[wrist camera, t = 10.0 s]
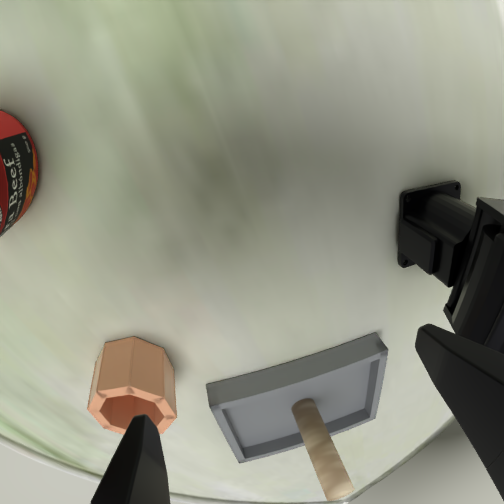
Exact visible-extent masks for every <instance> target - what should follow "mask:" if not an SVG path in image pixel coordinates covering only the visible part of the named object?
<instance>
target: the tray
mask: <svg viewBox="0 0 504 504" xmlns="http://www.w3.org/2000/svg"><path fill="white" fill-rule="evenodd" d="M387 355H388V348H387V347H386V346H385V344H384V343H383V342H382V340H381V339H380V338H379V336H378V335H377V334H376V333H372V334H370V335H367V336H364V337H362V338H359V339H356V340H354V341H351V342H348V343H345V344H343V345H340V346H337V347H334V348H331V349H328V350H325V351H322V352H319V353H316V354H313V355H310V356H307V357H304V358H301V359H298V360H294V361H291V362H288V363H285V364H281V365H278V366H275V367H271V368H268V369H264V370H261V371H257V372H253V373H250V374H246V375H242V376H238V377H235V378H231V379H227V380H223V381H219V382H214V383H210V384H206V389H207V395H208V401H209V407H210V409H211V411H212V413H213V415H214V417H215V419H216V421H217V423H218V425H219V427H220V429H221V430H222V432H223V434H224V436H225V438H226V440H227V442H228V444H229V446H230V448H231V449H232V451H233V453H234V455H235V457H236V459H237V460H238V462H239V463H243V462H247V461H252V460H256V459H259V458H263V457H267V456H271V455H274V454H278V453H281V452H285V451H288V450H291V449H295V448H298V447H301V446H304V445H305V444H304V441H303V439H302V436H301V433H300V431H299V428H298V426H297V423H296V421H295V418H294V416H293V413H292V410H291V408H292V406H293V405H294V404H295V403H296V402H297V401H299V400H302V399H306V398H310V399H313V400H314V402H315V404H316V406H317V408H318V411H319V413H320V415H321V417H322V419H323V422H324V424H325V426H326V428H327V430H328V432H329V435H330V436H333V435H336V434H338V433H341V432H344V431H346V430H349V429H351V428H354V427H356V426H359V425H361V424H364V423H366V422H368V421H371V420H373V419H375V418H376V413H377V409H378V404H379V399H380V394H381V389H382V384H383V378H384V373H385V367H386V361H387Z"/></svg>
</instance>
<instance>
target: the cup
mask: <svg viewBox="0 0 504 504" xmlns="http://www.w3.org/2000/svg"><path fill="white" fill-rule="evenodd" d="M87 409H88V411H89V412H90V413H91V414H92V415H93V416H94V418H95V419H96V420H97V421H98V422H99V423H100V424H101V426H102V427H103V428H104V429H108V430H111V431H114V432H117V433H120V434H125V432H126V430H127V428H128V426H129V424H130V422H131V420H132V418H133V417H134V416H135V415H140V414H147V415H148V416H149V418H150V419H151V420H152V421H153V423H154V424H155V425H156V427H157V428H158V431H159V434H163V433H164V431H165V430H166V429H167V428H168V427H169V426H170V425H171V423H172V422H173V421H174V420H175V419H176V418H177V410H176V396H175V379H174V369H173V367H172V365H171V363H170V361H169V359H168V357H167V355H166V353H165V351H164V348H161V347H159V346H156V345H154V344H151V343H149V342H146V341H144V340H141V339H139V338H136V337H135V336H133V337H130V338H125V339H121V340H116V341H111V342H107V343H105V344H104V347H103V349H102V351H101V353H100V355H99V357H98V359H97V361H96V364H95V368H94V374H93V379H92V384H91V390H90V395H89V401H88V408H87Z"/></svg>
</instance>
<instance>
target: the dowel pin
mask: <svg viewBox="0 0 504 504" xmlns="http://www.w3.org/2000/svg"><path fill="white" fill-rule="evenodd" d="M291 410H292V413H293V416H294V418H295V421H296V423H297V426H298V428H299V431H300V433H301V436H302V439H303V441H304V444H305V446H306V449H307V451H308V454H309V456H310V459H311V461H312V464H313V466H314V469H315V471H316V474H317V476H318V479H319V481H320V484H321V486H322V489H323V491H324V494H325V496H326V499H327V500H328V501H332V500H337V499H340V498H342V497H344V496H346V495H348V494H350V493H351V492H353V491H354V487H353V485H352V482H351V480H350V478H349V476H348V474H347V472H346V469H345V467H344V465H343V463H342V461H341V459H340V456H339V454H338V452H337V450H336V448H335V446H334V443H333V441H332V439H331V437H330V435H329V432H328V430H327V428H326V426H325V424H324V422H323V419H322V417H321V415H320V413H319V411H318V408H317V406H316V404H315V402H314V400H313V399H310V398H306V399H302V400H299V401H297V402H296V403H295V404H294V405H293V406H292V408H291Z"/></svg>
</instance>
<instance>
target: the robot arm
mask: <svg viewBox="0 0 504 504" xmlns="http://www.w3.org/2000/svg"><path fill="white" fill-rule="evenodd" d="M455 186H456V187H455ZM460 190H461V185H460V183H459V182H457V181H449V182H444V183H440V184H435V185H430V186H426V187H421V188H417V189H412V190H407V191H404V192H403V193H402V194H401V196H400V225H399V256H398V264H399V265H400V266H401V267H402V268H406V267H409V266H412V265H414V264H417V265H418V266H419V267H420V268H421V269H423V270H424V271H425V272H426V273H427V274H429V275H432V274H433V275H434V276H435V277H436V278H438V279H439V280H440V281H441V282H442V283H444V284H445V285H446V286H447V287H448V288H449V287H452V286H453V289H452V291H451V294H450V297H449V299H448V302H447V303H446V304H445V307H444V309H443V311H444V313H445V315H446V317H447V319H448V320H449V322H450V324H451V326H452V328H453V330H454V332H455V334H454V333H452V332H449V331H447V330H444V329H442V328H440V327H437V326H435V325H432V324H426V325H424V326H421V327H420V328H419V329H418V332H417V337H416V342H415V348H416V351H417V353H418V355H419V357H420V359H421V360H422V362H423V364H424V366H425V368H426V370H427V372H428V374H429V376H430V378H431V380H432V382H433V383H434V385H435V387H436V388H437V390H438V391H439V393H440V394H441V396H442V398H443V399H444V401H445V402H446V404H447V405H448V407H449V408H450V410H451V411H452V413H453V415H454V416H455V418H456V419H457V421H458V422H459V424H460V426H461V427H462V429H463V431H464V432H465V434H466V435H467V437H468V439H469V440H470V442H471V444H472V445H473V447H474V449H475V450H476V452H477V454H478V455H479V457H480V459H481V461H482V462H483V464H484V466H485V467H486V468H487V469H486V470H487V471H488V473H489V475H490V477H491V479H492V480H493V482H494V484H495V486H496V488H497V489H498V491H499V493H500V495H501V497H502V499H503V501H504V200H500V199H491V198H483V197H477V202H476V206H477V207H476V208H475V207H473V206H471V205H469V204H467V203H465V202H463V201H461V200H460ZM407 196H408V198H407V200H406V197H407ZM404 261H405V262H404ZM403 262H404V263H403ZM91 504H170V496H169V486H168V477H167V470H166V465H165V461H164V456H163V451H162V446H161V440H160V435H159V431H158V428H157V427H156V425H155V424H154V423H153V421H152V420H151V419H150V418H149V416H148V415H147V414H140V415H135V416H134V417H133V418H132V420H131V422H130V424H129V426H128V428H127V430H126V432H125V434H124V436H123V438H122V440H121V442H120V444H119V445H118V447H117V449H116V451H115V453H114V455H113V457H112V459H111V461H110V463H109V465H108V467H107V470H106V472H105V474H104V476H103V478H102V480H101V482H100V484H99V486H98V488H97V490H96V492H95V494H94V496H93V498H92V500H91Z"/></svg>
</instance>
